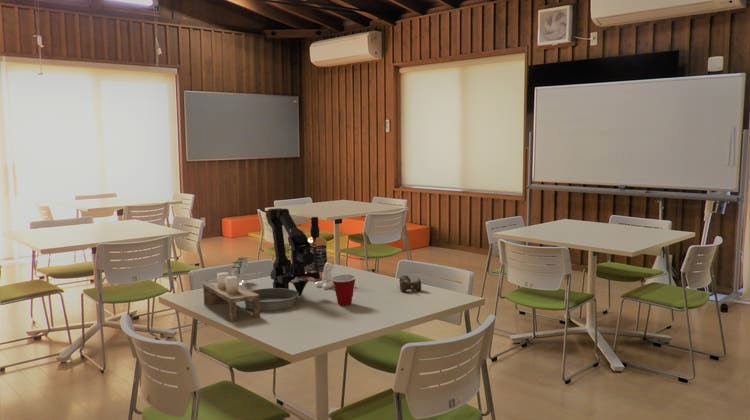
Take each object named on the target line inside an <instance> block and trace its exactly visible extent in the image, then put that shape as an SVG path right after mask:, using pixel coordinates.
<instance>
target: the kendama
mask: <svg viewBox="0 0 750 420" xmlns="http://www.w3.org/2000/svg"><path fill="white" fill-rule="evenodd" d="M399 290H400V292H401V293H404V292H406V291H408V290H415V291H417V292H421V291H422V281H421V279H420V278H417V279H415V280H414V281H412V280H411V278H410V277H409V276H407V275H402V276H400V278H399Z"/></svg>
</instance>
